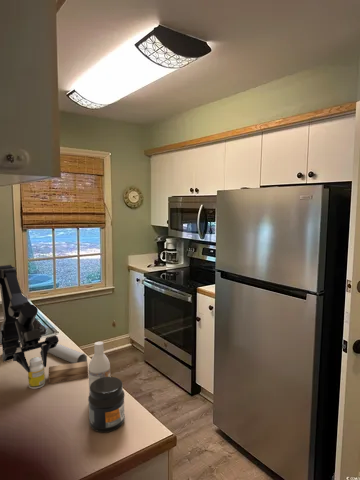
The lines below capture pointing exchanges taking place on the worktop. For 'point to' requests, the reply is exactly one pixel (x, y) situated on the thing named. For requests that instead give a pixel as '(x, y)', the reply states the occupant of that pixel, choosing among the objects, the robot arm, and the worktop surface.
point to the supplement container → (106, 404)
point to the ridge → (68, 372)
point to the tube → (68, 354)
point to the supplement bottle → (36, 373)
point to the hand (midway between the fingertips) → (37, 369)
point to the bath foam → (98, 364)
